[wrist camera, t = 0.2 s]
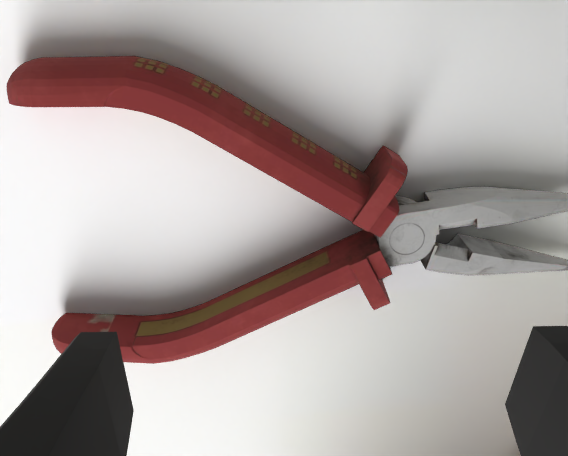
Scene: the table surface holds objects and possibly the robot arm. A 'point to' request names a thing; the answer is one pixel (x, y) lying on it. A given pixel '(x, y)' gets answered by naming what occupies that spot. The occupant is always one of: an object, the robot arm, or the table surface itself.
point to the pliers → (303, 178)
